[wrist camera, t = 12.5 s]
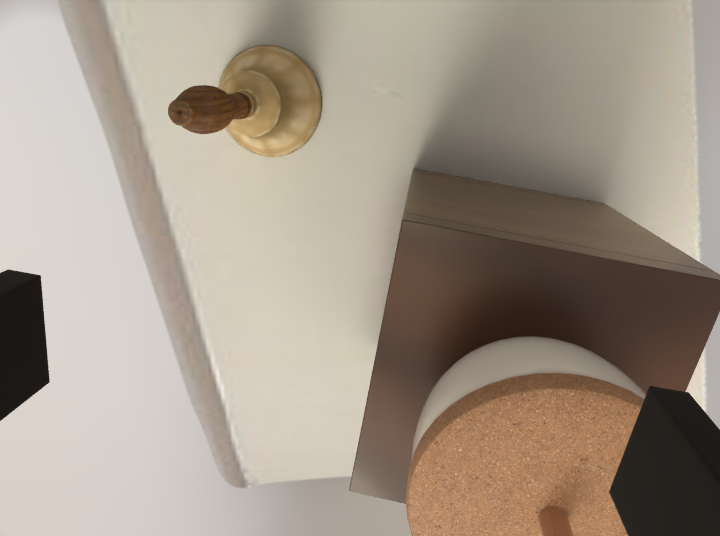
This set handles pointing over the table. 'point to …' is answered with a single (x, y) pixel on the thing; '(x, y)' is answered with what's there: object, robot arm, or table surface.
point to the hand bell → (256, 102)
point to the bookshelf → (521, 301)
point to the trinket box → (522, 443)
